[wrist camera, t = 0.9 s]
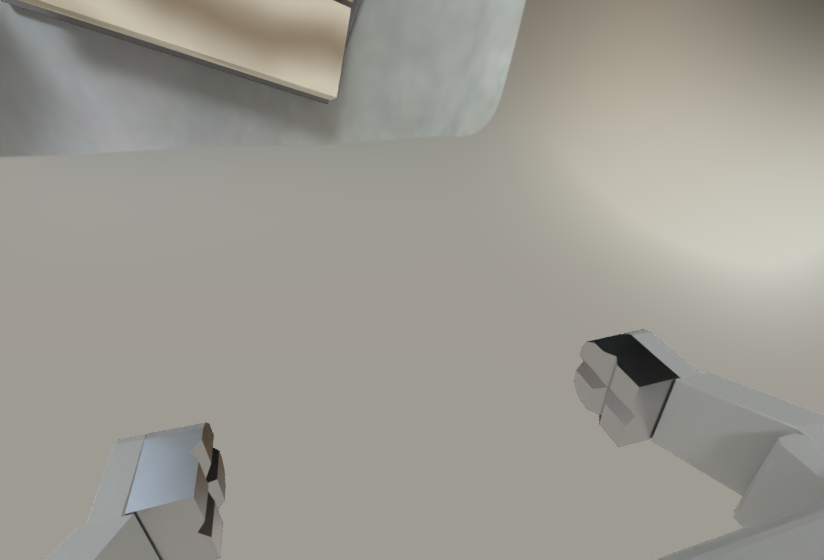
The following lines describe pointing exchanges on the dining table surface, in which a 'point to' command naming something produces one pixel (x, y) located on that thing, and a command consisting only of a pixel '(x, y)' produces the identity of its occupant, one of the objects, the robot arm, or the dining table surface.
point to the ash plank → (234, 34)
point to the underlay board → (353, 5)
